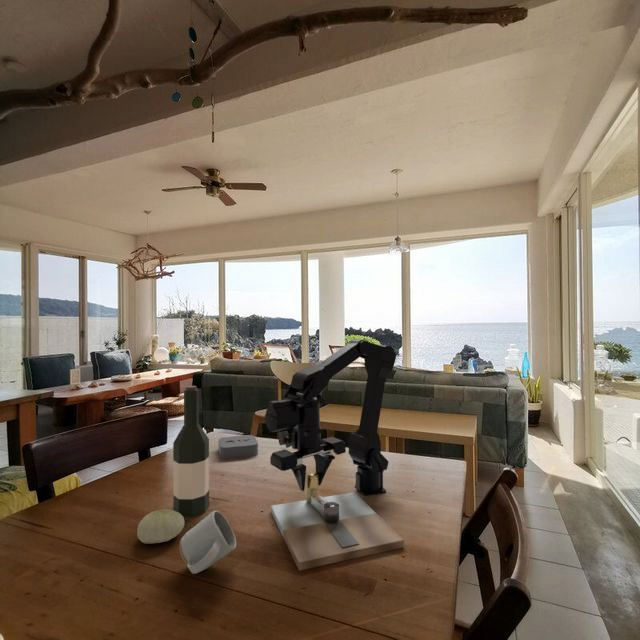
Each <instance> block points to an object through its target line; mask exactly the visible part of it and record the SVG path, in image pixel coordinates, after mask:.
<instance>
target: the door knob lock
mask: <svg viewBox="0 0 640 640" xmlns="http://www.w3.org/2000/svg"><path fill="white" fill-rule="evenodd" d="M319 487H320V485H319V474H318V473H317V472H316V471H308V472H306V478H305V500H306V502H307V503H309V504H311V505H312V506H313V507H315V508H316V509H317V510H318V511H319V512H320V513H321V514H322V515H323V516H324V521H326V522H328V523H335V522H338V521H339V504H338V503H336V502H327V501H326V500H325V499H323V498H322V497H323V496H321V495H320V492H319V491H320V490H319V489H320V488H319Z"/></svg>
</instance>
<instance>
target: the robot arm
mask: <svg viewBox="0 0 640 640" xmlns="http://www.w3.org/2000/svg"><path fill="white" fill-rule="evenodd" d="M359 358H361V359H364V367H365V371H366V373H367V379H366V385H365V390H364V397H363V403H362V407H361V409H362V410H361V413H360V421H359V425H358V426H359V427H358V428H357V429H356V431H355V432H354V433H353V432H350V434H349V438H348V439H349V441H348V445H347V449H348V455H349V457H350V458H351V460H352V463H353V465H356V466H357V467H356V470H357V471H356V472H355V484H354V487H355V489H357V490H358V491H359V492H360V493H361V494H362V495H363V496H371V495H377V494H383V493H386V492H387V489H385V488H384V471H386V470H387V469H388V466H389V459H387V458H386V457H385V456H384V455H383V454H382V452H381V449H382V443H381V439H380V436H379V433H378V429H379V423H380V416H381V410H382V403H383V397H384V391H385V386H386V379H387V378H388V376H389V375H390V374H391V372H392V371H393V370H394V368H395V367H394V366H395V363H396V360H397V352H395V349H394V348H393V346H391V345H382V344H381V345H379V344H376V343H372V342H370V341H367V340H365V339H354V338H353V339H351V340H349V342H348V343H347V344H346V345H344V346H343V347H341V348H340V349H338V350H337V351H336V352H334V353H333V354H331V355H330V356H328V357H327V358H325V359H324V360H322V361H321V362H320V363H318V364H314V365H312V366H307V367H305V368H303V369H301V370H299V371H297V372H295V373H294V374H293V375H292V376H291V382H290V385H289V386H288V388H287V389H286V392H285V393H284V395H283V397H282V399H281V400H271V401H269V402H268V405H269V406H268V407H267V409H266V411H265V414H264V421H265V425H266V428H267V429H268V431H269V432H271V433H275V432H278V436H277V437H278V444H279V445H280V446H284V445H285V449H281V450H278V451H274V452H272V453H271V455H270V457H269V460H270V461H269V462H270V466H273V467H274V468H277V469H278V470H280V471H281V472H284V471H289V470H291V472H292V473H293V475H294V478H295V480H296V482H297V485H298V487H299V490H300V491H301V492H305V489H306V473H307V465H305V464H303V463H304V462H303V459H306V458H309V457H313V459H314V460H315V461H314V462H315V472H317V473H318V474H319V486H321V485H322V483H323V480H324V478H325V476H326V473H327V471H328V469H329V467H330V465H331V464H332V462H333V460H335V459H336V456H335V455H337V456H338V455H341V454H345V453H346V452H347V451H346V444H345V442H344V441H343V440H341V439H340V438H336V437H334V436H330V437H327V438H321V437H322V436H321V434H323V433H324V427H321V414H320V412H321V411H320V405H323V404H327V403H328V400H327V399H325V397H323V396H322V392H324V390H325V389H326V388H327V387H328V385H329V383H330V380H331V379H332V378H333V377H335V376H336V375H338V374H339V373H340V372H341V371H343V370H344V369H345V368H347V367H349V365H351V364H352V363H354V362H355V361H357V360H358V359H359ZM288 429H292V430H293V431H292V433H289V432H288ZM280 431H281V432H280ZM290 447H291V448H292V449H293V450H297V451H294V452H292V451H290V450H288V448H290ZM332 451H333V454H335V455H333V454H332Z"/></svg>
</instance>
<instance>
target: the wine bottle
mask: <svg viewBox="0 0 640 640" xmlns="http://www.w3.org/2000/svg"><path fill="white" fill-rule="evenodd" d="M199 390H200V389H198V388H197V386H196V385H190V386H189V385H188V386H185V389H184V390H183V426H182V427H181V429H180V430H179V432H178V434H177V436H176V437H175V439H174V441H173V442H172V444H173V445H172V446H173V447H172V449H173V450H172V451H173V452H172V453H173V454H172V456H173V458H172V459H173V460H172V463H173V464H172V467H173V468H172V469H173V470H172V473H173V474H172V476H173V480H172V481H173V488H172V489H173V490H172V494H173V495H172V496H173V503H172V504H173V508H172V510H174V511H176V512H178V513H180V514H181V515H182V516H183V518H188V517H189V518H192V517H193V518H194V517H195V516H198V515H202V514H203V513H206V512H207V510H208V509H209V507H210V438H209V437H208V436H207V434H206V433H205V431H204V429H203V428H202V426H201V425H200V423H199V415H200V414H199V413H200V412H199V407H200V406H199V403H200V402H199V395H200V394H199Z"/></svg>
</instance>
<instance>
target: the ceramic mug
mask: <svg viewBox="0 0 640 640" xmlns="http://www.w3.org/2000/svg"><path fill="white" fill-rule="evenodd" d="M236 538H237V537H236V535H235V532H234V531H233V528H232V527H231V524H230V523H229V521H228V519H227V518H226V516H224V515H223V514H222V513H221V512H220V511H219V510H213V511H212V512H210V513H209V514H207V516H206V517H204V518H203V519H202V520H201V521H200V522H198V523H197V524H196V525H195V526H193V527H192V528H191V529H189V530H188V531H187V532H185V533H184V535H183V536H182V537H181V538H180V541H179V546H178V549H179V553H180V556H181V559H182V560H183V562H184V564H185V565H186V567H187V568H188V570H189V571H190V572H191V574H194V575H195V574H199V573H201V572H202V571H204V570H206V569H208V568H210V567H211V566H212V565H214V564H215V563H216V562H217V561H219V560H221V559H222V558H224V557H225V556H227V555H228V554H230V552H232V551H234V550H235V549H236V547H237V539H236Z"/></svg>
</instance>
